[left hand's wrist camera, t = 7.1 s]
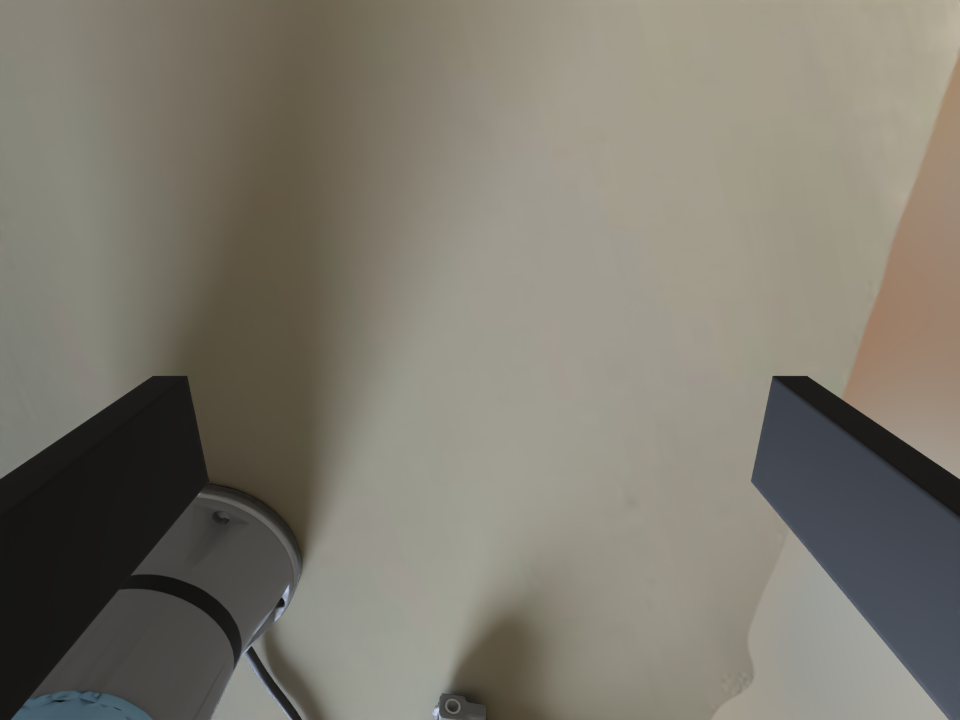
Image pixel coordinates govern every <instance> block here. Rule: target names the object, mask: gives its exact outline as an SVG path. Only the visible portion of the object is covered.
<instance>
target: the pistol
mask: <svg viewBox="0 0 960 720" xmlns="http://www.w3.org/2000/svg"><path fill="white" fill-rule="evenodd" d="M433 715H435V718H434V720H487V719H486V707H485V705H482V704H475V703H469V702H467V701H466V699H465V697H464V696H457V695H451V694H444V693H443V694H442V695H441V696H440V699H439V703H438V705H436V706H435V708H434V710H433Z"/></svg>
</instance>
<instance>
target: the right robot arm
mask: <svg viewBox="0 0 960 720" xmlns="http://www.w3.org/2000/svg"><path fill="white" fill-rule="evenodd" d="M300 574H301V557H300V552H299V548H298V545H297V543H296V540H295V538H294V536H293V534H292V533H291V531H290V530H289V528H288V527H287V525H286V524H285V523H284V522H283V520H282V519H281V518H280V517H279V516H278V515H277V514H276V513H275V512H273V511H272V510H271V509H270V508H269V507H267V506H266V505H264V504H263V503H261V502H260V501H258V500H256V499H255V498H253V497H251V496H249V495H247V494H244V493H242V492H239V491H237V490H234V489H230V488H227V487H222V486H217V485H209V484H206V485H205V487H204V488H203V489H202V490H201V492H200V493H199V494H198V495H197V496H196V498H195V499H194V500H193V501H192V502H191V504H190V505H189V506H188V507H187V508H186V510H185V511H184V512H183V513H182V514H181V516H180V517H179V518H178V519H177V520H176V522H175V523H174V524H173V525H172V526H171V528H170V529H169V530H168V531H167V532H166V534H165V535H164V536H163V537H162V538H161V540H160V541H159V542H158V543H157V545H156V546H155V547H154V548H153V549H152V551H151V552H150V553H149V554H148V555H147V557H146V558H145V559H144V560H143V561H142V563H141V564H140V565H139V566H138V567H137V569H136V570H135V571H134V572H133V573H132V575H131V576H130V577H129V578H128V579H127V581H126V582H125V583H124V584H123V585H122V587H121V588H120V589H119V590H118V591H117V593H116V594H115V595H114V596H113V598H112V599H111V600H110V601H109V602H108V604H107V605H106V606H105V607H104V608H103V610H102V611H101V612H100V613H99V614H98V616H97V617H96V618H95V619H94V620H93V622H92V623H91V624H90V625H89V626H88V628H87V629H86V630H85V631H84V632H83V634H82V635H81V636H80V637H79V638H78V640H77V641H76V642H75V643H74V644H73V646H72V647H71V648H70V649H69V651H68V652H67V653H66V654H65V655H64V657H63V658H62V659H61V660H60V661H59V663H58V664H57V665H56V666H55V667H54V669H53V670H52V671H51V672H50V673H49V675H48V676H47V677H46V678H45V679H44V681H43V682H42V683H41V684H40V685H39V687H38V688H37V689H36V690H35V691H34V693H33V694H32V695H31V696H30V697H29V699H28V700H27V701H26V702H25V703H24V705H23V706H22V707H21V708H20V710H19V711H18V712H17V713H16V714H15V716H14V717H13V718H12V719H11V720H211V718H212V716H213V714H214V712H215V710H216V708H217V706H218V704H219V701H220V699H221V697H222V695H223V693H224V691H225V689H226V687H227V685H228V682H229V680H230V678H231V676H232V674H233V672H234V669H235V667H236V665H237V663H238V661H239V659H240V657H241V656H242V655H243V654H244V655H245V657H246V659H247V660H248V662H249V664H250V665H251V667H252V669H253V670H254V672H255V673H256V675H257V676H258V678H259V679H260V681H261V682H262V683H263V685H264V686H265V687H266V689H267V690H268V691H269V693H270V694H271V695H272V697H273V698H274V699H275V700H276V702H277V703H278V704H279V705H280V707H281V708H282V709H283V711H284V712H285V713H286V715H287V716H288V718H289V719H290V720H302V719H301V717H300V716H299V714H298V713H297V711H296V710H295V708H294V707H293V706H292V704H291V703H290V702H289V700H288V699H287V698H286V696H285V695H284V694H283V692H282V691H281V690H280V689H279V687H278V686H277V685H276V683H275V682H274V681H273V679H272V678H271V676H270V675H269V674H268V672H267V671H266V669H265V667H264V666H263V664H262V663H261V661H260V659H259V658H258V656H257V654H256V652H255V651H254V649H253V647H252V645H253V644H254V643H255V642H256V641H257V640H258V639H259V638H260V637H261V636H262V635H263V634H264V632H265V631H266V630H267V629H268V628H269V627H270V626H271V625H272V624H273V623H274V622H275V621H276V620H277V619H278V618H279V617H280V616H281V615H282V613H283V612H284V611H285V610H286V608H287V607H288V605H289V603H290V601H291V599H292V597H293V594H294V592H295V589H296V587H297V585H298V582H299V579H300Z"/></svg>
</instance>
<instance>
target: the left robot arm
mask: <svg viewBox="0 0 960 720" xmlns="http://www.w3.org/2000/svg"><path fill="white" fill-rule="evenodd" d="M208 482H209V479H208V474H207V470H206V465H205V460H204V455H203V450H202V445H201V441H200V436H199V431H198V426H197V421H196V416H195V412H194V407H193V402H192V397H191V392H190V387H189V383H188V378H187V376H152V377H151V378H149V379H148V380H146V381H145V382H143V383H142V384H140V385H139V386H138V387H136V388H135V389H133V390H132V391H130V392H129V393H127V394H126V395H124V396H123V397H121V398H120V399H118V400H117V401H115V402H114V403H112V404H111V405H109V406H108V407H106V408H105V409H104V410H102V411H101V412H99V413H98V414H96V415H95V416H93V417H92V418H90V419H89V420H87V421H86V422H84V423H83V424H81V425H80V426H78V427H77V428H75V429H74V430H72V431H71V432H70V433H68V434H67V435H65V436H64V437H62V438H61V439H59V440H58V441H56V442H55V443H53V444H52V445H50V446H49V447H47V448H46V449H44V450H43V451H41V452H40V453H38V454H37V455H36V456H34V457H33V458H31V459H30V460H28V461H27V462H25V463H24V464H22V465H21V466H19V467H18V468H16V469H15V470H13V471H12V472H10V473H9V474H7V475H6V476H4V477H3V478H2V479H0V720H11V719H12V718H13V717H14V716H15V714H16V713H17V712H18V711H19V710H20V708H21V707H22V706H23V705H24V703H25V702H26V701H27V700H28V699H29V697H30V696H31V695H32V694H33V693H34V691H35V690H36V689H37V688H38V687H39V685H40V684H41V683H42V682H43V681H44V679H45V678H46V677H47V676H48V675H49V673H50V672H51V671H52V670H53V669H54V667H55V666H56V665H57V664H58V663H59V661H60V660H61V659H62V658H63V657H64V655H65V654H66V653H67V652H68V651H69V649H70V648H71V647H72V646H73V644H74V643H75V642H76V641H77V640H78V638H79V637H80V636H81V635H82V634H83V632H84V631H85V630H86V629H87V628H88V626H89V625H90V624H91V623H92V622H93V620H94V619H95V618H96V617H97V616H98V614H99V613H100V612H101V611H102V610H103V608H104V607H105V606H106V605H107V604H108V602H109V601H110V600H111V599H112V598H113V596H114V595H115V594H116V593H117V591H118V590H119V589H120V588H121V587H122V585H123V584H124V583H125V582H126V581H127V579H128V578H129V577H130V576H131V575H132V573H133V572H134V571H135V570H136V569H137V567H138V566H139V565H140V564H141V563H142V561H143V560H144V559H145V558H146V557H147V555H148V554H149V553H150V552H151V551H152V549H153V548H154V547H155V546H156V545H157V543H158V542H159V541H160V540H161V538H162V537H163V536H164V535H165V534H166V532H167V531H168V530H169V529H170V528H171V526H172V525H173V524H174V523H175V522H176V520H177V519H178V518H179V517H180V516H181V514H182V513H183V512H184V511H185V510H186V508H187V507H188V506H189V505H190V504H191V502H192V501H193V500H194V499H195V498H196V496H197V495H198V494H199V493H200V492H201V490H202V489H203V488H204V487H205V485H206V484H207V483H208ZM751 482H752V483H753V484H754V485H755V487H756V488H757V489H758V490H759V492H760V493H761V494H762V495H763V496H764V498H765V499H766V500H767V501H768V502H769V504H770V505H771V506H772V507H773V508H774V510H775V511H776V512H777V513H778V514H779V516H780V517H781V518H782V519H783V520H784V522H785V523H786V524H787V525H788V526H789V528H790V529H791V530H792V531H793V532H794V534H795V535H796V536H797V537H798V538H799V540H800V541H801V542H802V543H803V544H804V546H805V547H806V548H807V549H808V551H809V552H810V553H811V554H812V555H813V557H814V558H815V559H816V560H817V561H818V563H819V564H820V565H821V566H822V567H823V569H824V570H825V571H826V572H827V573H828V575H829V576H830V577H831V578H832V579H833V581H834V582H835V583H836V584H837V585H838V587H839V588H840V589H841V590H842V591H843V593H844V594H845V595H846V596H847V598H848V599H849V600H850V601H851V602H852V604H853V605H854V606H855V607H856V608H857V610H858V611H859V612H860V613H861V614H862V616H863V617H864V618H865V619H866V620H867V622H868V623H869V624H870V625H871V626H872V628H873V629H874V630H875V631H876V632H877V634H878V635H879V636H880V637H881V638H882V640H883V641H884V642H885V643H886V644H887V646H888V647H889V648H890V649H891V650H892V652H893V653H894V654H895V655H896V657H897V658H898V659H899V660H900V661H901V663H902V664H903V665H904V666H905V667H906V669H907V670H908V671H909V672H910V673H911V675H912V676H913V677H914V678H915V679H916V681H917V682H918V683H919V684H920V685H921V687H922V688H923V689H924V690H925V691H926V693H927V694H928V695H929V696H930V697H931V699H932V700H933V701H934V702H935V704H936V705H937V706H938V707H939V708H940V709H941V711H942V712H943V713H944V714H945V716H946V717H947V718H948V719H949V720H960V479H958V478H957V477H956V476H954V475H953V474H951V473H950V472H948V471H947V470H945V469H944V468H942V467H941V466H939V465H938V464H936V463H935V462H933V461H932V460H930V459H929V458H927V457H926V456H924V455H923V454H922V453H920V452H919V451H917V450H916V449H914V448H913V447H911V446H910V445H908V444H907V443H905V442H904V441H902V440H901V439H899V438H898V437H896V436H895V435H893V434H892V433H890V432H889V431H888V430H886V429H885V428H883V427H882V426H880V425H879V424H877V423H876V422H874V421H873V420H871V419H870V418H868V417H867V416H865V415H864V414H862V413H861V412H859V411H858V410H856V409H855V408H854V407H852V406H850V405H849V404H848V403H846V402H845V401H843V400H842V399H840V398H839V397H837V396H836V395H834V394H833V393H831V392H830V391H828V390H827V389H825V388H824V387H822V386H821V385H820V384H818V383H817V382H815V381H814V380H812V379H811V378H809V377H808V376H773V378H772V382H771V387H770V392H769V397H768V402H767V407H766V412H765V416H764V421H763V426H762V431H761V436H760V441H759V445H758V450H757V455H756V460H755V465H754V470H753V474H752V479H751Z"/></svg>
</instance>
